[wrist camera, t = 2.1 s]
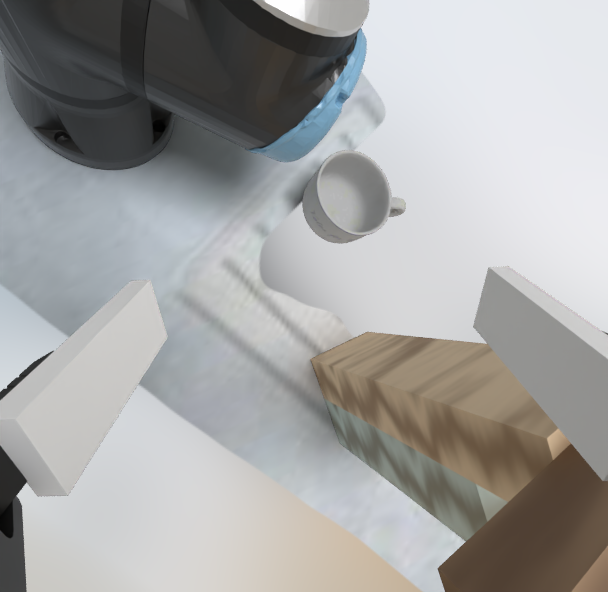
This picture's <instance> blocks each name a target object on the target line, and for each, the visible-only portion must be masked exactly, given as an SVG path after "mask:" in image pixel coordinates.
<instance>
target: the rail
mask: <svg viewBox="0 0 608 592" xmlns="http://www.w3.org/2000/svg"><path fill="white" fill-rule="evenodd" d="M438 571H439V574H440V577H441V580H442V583H443V586H444V589H445V592H608V481H602V480H601V478H600V477H599V476H598V475H597V474H596V472H595V471H594V470H593V469H592V468H591V466H590V465H589V464H588V463H587V462H586V461H585V459H584V458H583V457H582V456H581V455H580V453H579V452H578V451H577V450H576V449H575V447H574V446H573V445H572V444H570V445H569V446H568V447H567V448H566V449H565V450H563V451H562V452H561V453H560V454H559V455H558V456H557V457H556V458H555V459H554V460H553V461H552V462H551V463H550V464H548V465H547V466H546V467H545V468H544V469H543V470H542V471H541V472H540V473H539V474H538V475H537V476H536V477H535V478H534V479H532V480H531V481H530V482H529V483H528V484H527V485H526V486H525V487H524V488H523V489H522V490H521V491H520V492H519V493H518V494H516V495H515V496H514V497H513V498H512V499H511V500H510V501H509V502H508V503H507V504H506V505H505V506H504V507H503V508H502V509H500V510H499V511H498V512H497V513H496V514H495V515H494V516H493V517H492V518H491V519H490V520H489V521H488V522H487V523H486V524H484V525H483V526H482V527H481V528H480V529H479V530H478V531H477V532H476V533H475V534H474V535H473V536H472V537H471V538H470V539H468V540H467V541H466V542H465V543H464V544H463V545H462V546H461V547H460V548H459V549H458V550H457V551H456V552H455V553H454V554H452V555H451V556H450V557H449V558H448V559H447V560H446V561H445V562H444V563H443V564H442V565H441V566H440V567H439V568H438Z"/></svg>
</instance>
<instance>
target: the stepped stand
mask: <svg viewBox="0 0 608 592" xmlns="http://www.w3.org/2000/svg"><path fill="white" fill-rule="evenodd" d="M311 362H312V365H313V368H314V370H315V373H316V376H317V379H318V382H319V385H320V388H321V390H322V393H323V396H324V399H325V402H326V405H327V408H328V411H329V413H330V416H331V419H332V422H333V425H334V428H335V431H336V433H337V436H338V439H339V442H340V444H341V445H343V446H344V447H345V448H347V449H348V450H349V451H350V452H352V453H353V454H354V455H356V456H357V457H358V458H359V459H361V460H362V461H363V462H365V463H366V464H367V465H368V466H370V467H371V468H372V469H374V470H375V471H376V472H377V473H379V474H380V475H381V476H383V477H384V478H385V479H386V480H388V481H389V482H390V483H392V484H393V485H394V486H395V487H397V488H398V489H399V490H401V491H402V492H403V493H404V494H406V495H407V496H408V497H410V498H411V499H412V500H413V501H415V502H416V503H417V504H419V505H420V506H421V507H422V508H424V509H425V510H426V511H428V512H429V513H430V514H431V515H433V516H434V517H435V518H437V519H438V520H439V521H440V522H442V523H443V524H444V525H446V526H447V527H448V528H449V529H451V530H452V531H453V532H455V533H456V534H457V535H458V536H460V537H461V538H462V539H464V540H465V541H467V540H468V539H470V538H471V537H472V536H473V535H474V534H475V533H476V532H477V531H478V530H479V529H480V528H481V527H482V526H483V525H484V524H486V523H487V522H488V521H489V520H490V519H491V518H492V517H493V516H494V515H495V514H496V513H497V512H498V511H499V510H500V509H502V508H503V507H504V506H505V505H506V504H507V503H508V502H509V501H510V500H511V499H512V498H513V497H514V496H515V495H516V494H518V493H519V492H520V491H521V490H522V489H523V488H524V487H525V486H526V485H527V484H528V483H529V482H530V481H531V480H532V479H534V478H535V477H536V476H537V475H538V474H539V473H540V472H541V471H542V470H543V469H544V468H545V467H546V466H547V465H548V464H550V463H551V462H552V461H553V460H554V459H555V458H556V457H557V456H558V455H559V454H560V453H561V452H562V451H563V450H565V449H566V448H567V447H568V446H569V445H570V444H571V443H570V441H569V440H568V439H567V438H566V437H565V436H564V434H563V433H562V432H561V431H560V430H559V428H558V427H557V426H556V425H555V424H554V422H553V421H552V420H551V419H550V418H549V416H548V415H547V414H546V413H545V412H544V410H543V409H542V408H541V407H540V406H539V405H538V403H537V402H536V401H535V400H534V399H533V397H532V396H531V395H530V394H529V393H528V391H527V390H526V389H525V388H524V387H523V385H522V384H521V383H520V382H519V381H518V380H517V378H516V377H515V376H514V375H513V374H512V372H511V371H510V370H509V369H508V368H507V366H506V365H505V364H504V363H503V362H502V360H501V359H500V358H499V357H498V356H497V354H496V353H495V352H494V351H493V350H492V349H491V347H490V346H489V345H488V344H483V343H472V342H463V341H452V340H442V339H432V338H423V337H413V336H402V335H392V334H383V333H373V332H366V333H364V334H362V335H360V336H358V337H355V338H353V339H351V340H349V341H347V342H345V343H343V344H341V345H339V346H337V347H335V348H332V349H330V350H328V351H326V352H324V353H322V354H320V355H318V356H316V357H314V358H311Z"/></svg>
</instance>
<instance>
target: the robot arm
mask: <svg viewBox="0 0 608 592" xmlns="http://www.w3.org/2000/svg"><path fill="white" fill-rule="evenodd" d="M368 11H369V0H0V49H1V51H2V52H3V58H4V67H5V75H6V82H7V87H8V91H9V93H10V96H11V99H12V101H13V103H14V105H15V107H16V109H17V110H18V112H19V114H20V115H21V117H22V118H23V119H24V121H25V122H26V123H27V124H28V126H29V127H30V128H31V130H32V131H33V132H34V133H35V134H36V136H37V137H38V138H39V139H40V140H41V141H42V142H44V143H45V144H46V145H47V146H48V147H50V148H51V149H52V150H54V151H55V152H57V153H58V154H60V155H62V156H64V157H65V158H67V159H69V160H72V161H74V162H76V163H79V164H82V165H85V166H89V167H93V168H99V169H109V170H116V169H126V168H131V167H135V166H138V165H141V164H143V163H145V162H147V161H149V160H151V159H152V158H154V157H155V156H156V155H157V154H158V153H160V152H161V150H162V149H163V148H164V147H165V145H166V144H167V142H168V141H169V138H170V136H171V134H172V130H173V125H174V114H176V115H178V116H180V117H182V118H184V119H186V120H188V121H190V122H192V123H195V124H197V125H199V126H201V127H203V128H205V129H207V130H209V131H211V132H213V133H215V134H217V135H219V136H221V137H223V138H225V139H227V140H229V141H231V142H233V143H235V144H237V145H239V146H241V147H244V148H245V149H246V150H248V151H250V152H252V153H260V154H262V155H265V156H267V157H270V158H272V159H275V160H277V161H280V162H292V161H296V160H298V159H300V158H302V157H303V156H305V155H306V154H308V153H309V152H310V151H311V150H312V149H313V148H314V147H315V146H316V145H317V144H318V143H319V142H320V141H321V140H322V139H323V137H324V136H325V135H326V134H327V132H328V131H329V130H330V128H331V127H332V126H333V124H334V123H335V121H336V120H337V118H338V117H339V115H340V113H341V109H342V105H343V103H344V102H345V101H346V100H347V99H348V98H349V97H350V95H351V93H352V91H353V89H354V87H355V85H356V83H357V81H358V78H359V76H360V73H361V70H362V67H363V64H364V61H365V56H366V46H367V44H366V42H367V41H366V38H365V35H364V33H363V32H362V29H361V26H362V25H363V23H364V21H365V19H366V17H367V15H368ZM473 327H474V328H475V329H476V331H477V332H478V333H479V334H480V335H481V337H482V338H483V339H484V340H485V341H486V343H487V344H488V345H489V346H490V347H491V349H492V350H493V351H494V352H495V353H496V354H497V356H498V357H499V358H500V359H501V360H502V362H503V363H504V364H505V365H506V366H507V368H508V369H509V370H510V371H511V372H512V374H513V375H514V376H515V377H516V378H517V380H518V381H519V382H520V383H521V384H522V385H523V387H524V388H525V389H526V390H527V391H528V393H529V394H530V395H531V396H532V397H533V399H534V400H535V401H536V402H537V403H538V405H539V406H540V407H541V408H542V409H543V410H544V412H545V413H546V414H547V415H548V416H549V418H550V419H551V420H552V421H553V422H554V424H555V425H556V426H557V427H558V428H559V430H560V431H561V432H562V433H563V434H564V436H565V437H566V438H567V439H568V440H569V441H570V443H571V444H572V445H573V446H574V447H575V449H576V450H577V451H578V452H579V453H580V455H581V456H582V457H583V458H584V459H585V461H586V462H587V463H588V464H589V465H590V466H591V468H592V469H593V470H594V471H595V472H596V474H597V475H598V476H599V477H600V478H601V480H602V481H608V333H605V332H603V331H601V330H599V329H598V328H597V327H595V326H594V325H592V324H591V323H590V322H588V321H586V320H585V319H584V318H582V317H581V316H580V315H578V314H577V313H575V312H574V311H572V310H571V309H569V308H568V307H567V306H565V305H564V304H562V303H561V302H559V301H558V300H556V299H555V298H554V297H552V296H551V295H549V294H548V293H546V292H545V291H543V290H542V289H540V288H539V287H538V286H536V285H535V284H533V283H532V282H530V281H529V280H528V279H526V278H525V277H523V276H522V275H520V274H519V273H517V272H516V271H515V270H513V269H512V268H510V267H509V266H506V267H489V268H488V271H487V276H486V279H485V283H484V287H483V291H482V295H481V299H480V302H479V306H478V310H477V314H476V318H475V321H474V326H473ZM167 338H168V336H167V333H166V330H165V326H164V323H163V320H162V316H161V313H160V310H159V306H158V303H157V300H156V296H155V293H154V290H153V287H152V283H151V280H133V281H130V282H129V283H128V284H127V285H126V286H125V287H124V288H122V289H121V290H120V291H119V292H118V293H117V294H116V295H115V296H114V297H113V298H112V299H110V300H109V301H108V302H107V303H106V304H105V305H104V306H103V307H102V308H101V309H100V310H98V311H97V312H96V313H95V314H94V315H93V316H92V317H91V318H90V319H89V320H88V321H86V322H85V323H84V324H83V325H82V326H81V327H80V328H79V329H78V330H77V331H76V332H74V333H73V334H72V335H71V336H70V337H69V338H68V339H67V340H66V341H65V342H64V343H62V345H60V346H59V347H58V348H57V349H56V350H55V351H52V352H50V353H48V354H47V355H45V356H43V357H42V358H40V359H38V360H37V361H35V362H33V363H32V364H31V365H30V366H29V367H28V368H27V369H26V370H24V371H23V372H22V373H21V374H20V375H19V378H15V379H14V380H13V381H12V382H11V383H10V384H9V385H8V386H7V389H3V390H2V391H1V392H0V592H26V574H25V557H24V540H23V539H24V537H23V519H22V505H21V503H20V501H19V499H18V498H17V496H16V495H17V494H18V493H19V491H20V490H21V489H22V488H23V486H24V485H25V484H26V482H27V483H28V484H29V486H30V487H31V488H32V490H33V491H34V492H35V494H36V495H37V496H68V495H69V493H70V492H71V490H72V489H73V487H74V485H75V484H76V482H77V481H78V479H79V477H80V476H81V474H82V473H83V471H84V469H85V468H86V466H87V465H88V463H89V461H90V460H91V458H92V457H93V455H94V454H95V452H96V450H97V449H98V447H99V446H100V444H101V442H102V441H103V439H104V438H105V436H106V435H107V433H108V431H109V430H110V428H111V426H112V425H113V423H114V422H115V420H116V419H117V417H118V416H119V414H120V412H121V411H122V409H123V408H124V406H125V404H126V403H127V401H128V400H129V398H130V396H131V395H132V393H133V392H134V390H135V389H136V387H137V385H138V384H139V382H140V381H141V379H142V377H143V376H144V374H145V373H146V371H147V369H148V368H149V366H150V365H151V363H152V362H153V360H154V358H155V357H156V355H157V354H158V352H159V350H160V349H161V347H162V346H163V344H164V342H165V341H166V339H167Z"/></svg>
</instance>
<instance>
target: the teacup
mask: <svg viewBox="0 0 608 592" xmlns="http://www.w3.org/2000/svg"><path fill="white" fill-rule="evenodd" d="M405 209H406V203H405V201H404V200H403V199H401V198H392V196H391V190H390V187H389V183H388V180H387V178H386V176H385V174H384V173H383V171H382V169H381V168H380V167H379V166H378V165H377V164H376V163H375V162H374V161H373V160H372V159H371V158H369V157H368V156H366V155H365V154H362V153H360V152H357V151H353V150H343V151H339V152H336V153H334V154H332V155H330V156H329V157H328V158H327V159H326V160H325V161H324V162H323V164H322V165H321V167H320V169H319V170H318V171H317V172H316V173H315V174H314V176H313V177H312V178H311V180H310V181H309V183H308V184H307V186H306V189H305V191H304V195H303V212H304V216H305V218H306V221H307V223H308V224H309V226H310V227H311V229H312V230H313V231H314V232H315V233H316V234H317V235H318V236H320V237H321V238H323V239H325V240H327V241H329V242H333V243H348V242H352V241H354V240H357V239H359V238H362V237H364V236H366V235H369V234H372V233H374V232H376V231H377V230H379V229H380V228H381V227H382V226H383V225H384V224H385V222H386V221H387V219H388V217H394V216H398V215H401V214H402V213H404V211H405Z"/></svg>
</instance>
